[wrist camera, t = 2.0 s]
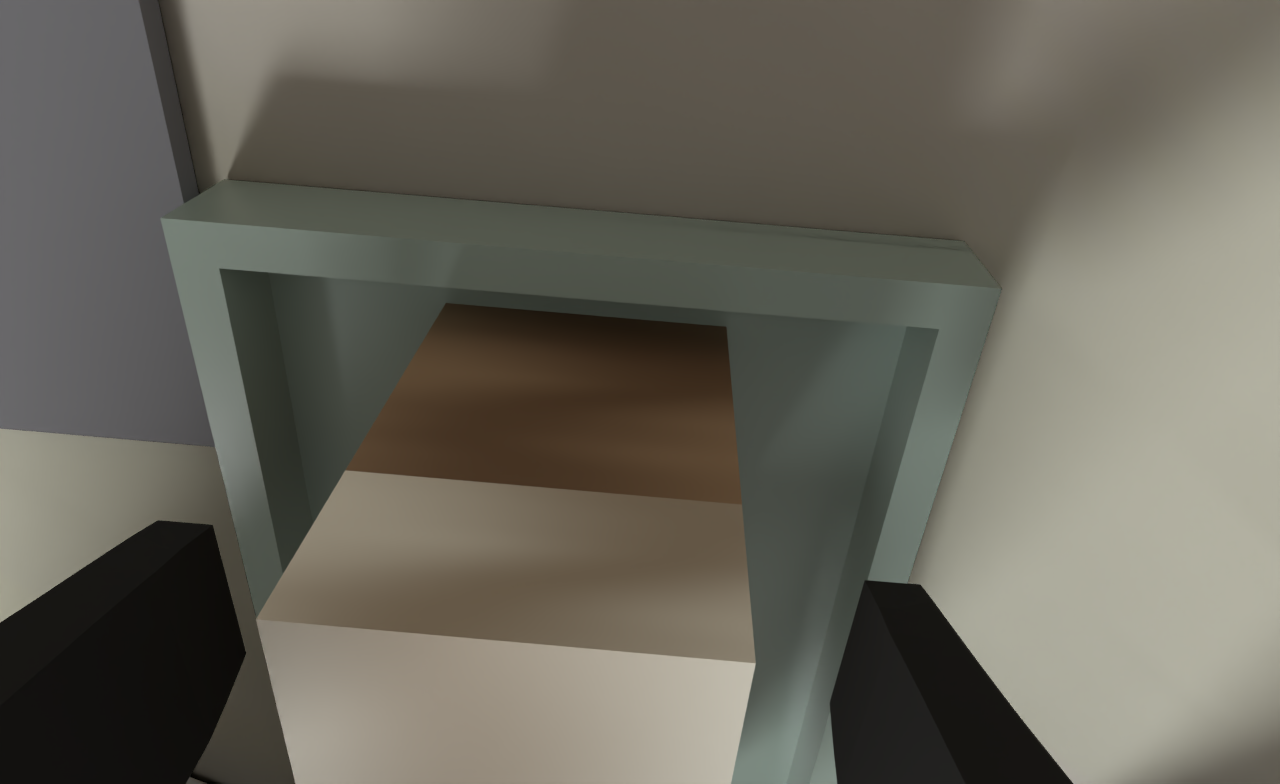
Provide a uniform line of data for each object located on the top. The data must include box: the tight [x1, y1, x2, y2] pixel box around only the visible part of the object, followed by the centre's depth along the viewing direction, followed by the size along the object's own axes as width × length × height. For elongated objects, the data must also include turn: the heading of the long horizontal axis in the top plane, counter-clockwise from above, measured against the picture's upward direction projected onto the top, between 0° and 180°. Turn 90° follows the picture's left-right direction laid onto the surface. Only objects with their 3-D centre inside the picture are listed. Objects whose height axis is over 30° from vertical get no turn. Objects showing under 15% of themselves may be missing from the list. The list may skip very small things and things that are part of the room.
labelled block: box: [256, 303, 756, 784], centre depth 10 cm, size 4×4×6 cm
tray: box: [160, 179, 1002, 784], centre depth 14 cm, size 10×14×2 cm
